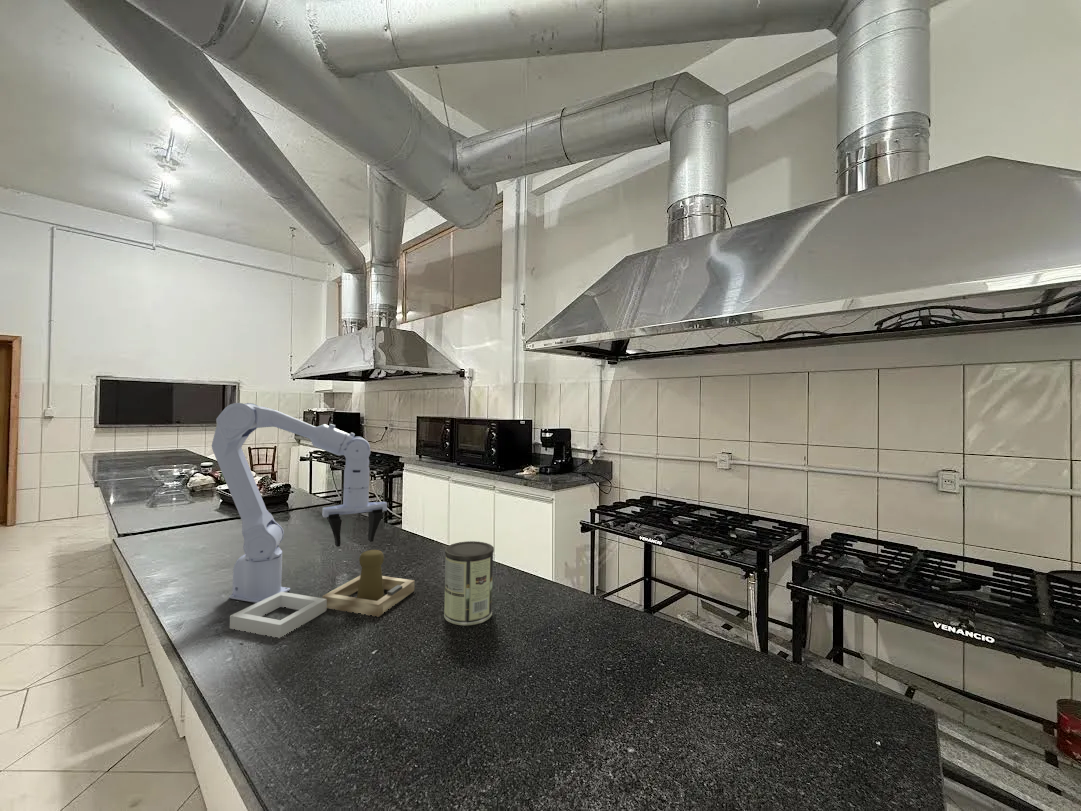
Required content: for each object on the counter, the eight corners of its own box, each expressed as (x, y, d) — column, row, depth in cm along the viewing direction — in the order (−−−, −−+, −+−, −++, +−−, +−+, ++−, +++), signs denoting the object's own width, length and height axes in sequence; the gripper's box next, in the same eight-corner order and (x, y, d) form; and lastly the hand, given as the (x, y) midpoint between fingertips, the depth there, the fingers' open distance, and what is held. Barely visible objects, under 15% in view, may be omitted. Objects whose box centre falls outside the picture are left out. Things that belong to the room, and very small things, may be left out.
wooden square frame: (322, 607, 96) (322, 593, 96) (363, 583, 110) (364, 570, 110) (378, 616, 93) (378, 602, 93) (414, 590, 106) (414, 577, 106)
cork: (376, 606, 97) (377, 556, 97) (350, 604, 98) (352, 554, 98) (389, 595, 103) (390, 548, 103) (364, 593, 104) (366, 546, 104)
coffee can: (461, 600, 102) (463, 538, 102) (500, 609, 97) (502, 545, 98) (432, 618, 92) (434, 550, 93) (474, 630, 88) (476, 559, 88)
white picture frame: (229, 628, 86) (230, 615, 86) (280, 602, 98) (280, 591, 98) (279, 638, 83) (280, 624, 83) (326, 610, 95) (326, 598, 95)
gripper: (327, 492, 101) (325, 552, 101) (391, 487, 109) (389, 542, 109) (321, 487, 107) (319, 544, 106) (382, 483, 115) (381, 535, 115)
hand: (354, 543), depth 108 cm, fingers open, 7 cm apart
